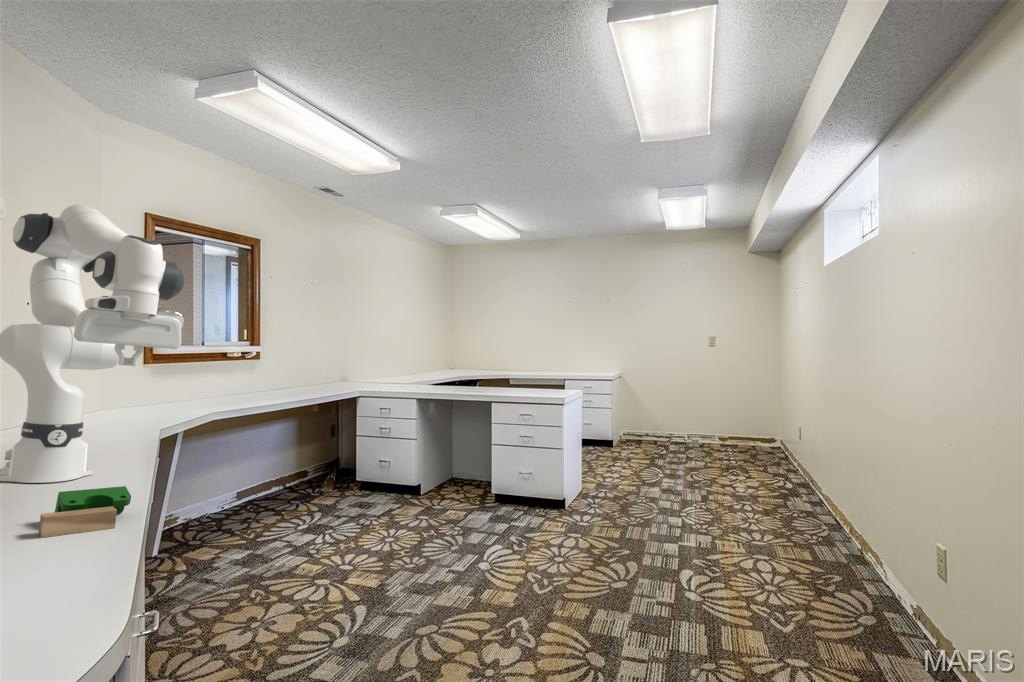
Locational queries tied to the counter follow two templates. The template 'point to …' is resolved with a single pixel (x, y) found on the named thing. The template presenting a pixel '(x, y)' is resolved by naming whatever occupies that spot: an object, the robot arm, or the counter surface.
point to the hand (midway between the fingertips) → (126, 365)
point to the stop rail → (77, 521)
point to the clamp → (93, 499)
